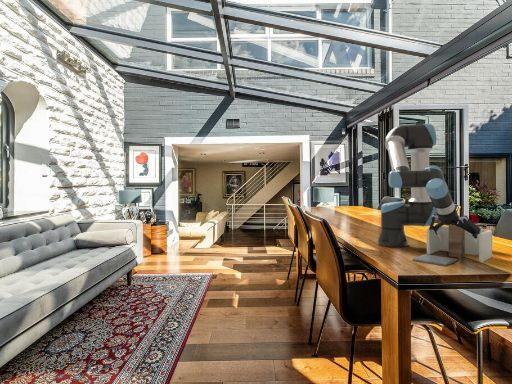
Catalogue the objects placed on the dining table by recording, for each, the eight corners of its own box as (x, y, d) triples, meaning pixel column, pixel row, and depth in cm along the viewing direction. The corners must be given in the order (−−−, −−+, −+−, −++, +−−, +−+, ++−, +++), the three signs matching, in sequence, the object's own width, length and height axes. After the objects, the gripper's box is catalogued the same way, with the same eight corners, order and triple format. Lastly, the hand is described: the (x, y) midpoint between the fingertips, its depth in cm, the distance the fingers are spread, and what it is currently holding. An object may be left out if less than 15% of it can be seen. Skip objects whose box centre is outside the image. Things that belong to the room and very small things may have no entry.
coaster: (412, 260, 141) (412, 258, 140) (424, 255, 149) (424, 254, 149) (444, 266, 131) (444, 264, 131) (456, 260, 139) (456, 258, 139)
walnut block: (460, 257, 144) (460, 226, 143) (448, 256, 148) (448, 225, 147) (464, 256, 147) (464, 225, 147) (452, 254, 151) (452, 224, 150)
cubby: (482, 262, 136) (482, 234, 135) (426, 253, 153) (426, 228, 152) (492, 256, 145) (492, 230, 144) (438, 249, 162) (438, 225, 161)
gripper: (413, 214, 146) (427, 242, 156) (477, 217, 126) (488, 250, 136) (418, 201, 149) (431, 230, 159) (481, 203, 130) (492, 236, 140)
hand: (458, 240), depth 148 cm, fingers open, 13 cm apart
